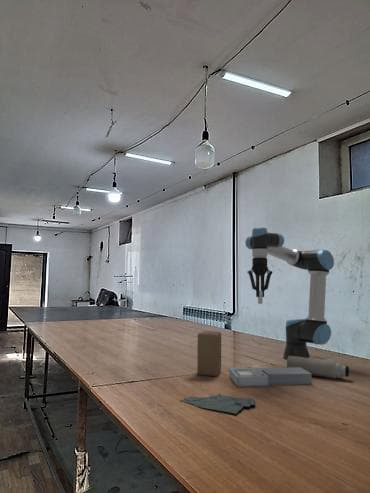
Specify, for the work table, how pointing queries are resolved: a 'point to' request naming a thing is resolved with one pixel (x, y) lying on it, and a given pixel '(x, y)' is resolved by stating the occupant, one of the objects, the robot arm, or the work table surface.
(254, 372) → the tile
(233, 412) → the decorative slab
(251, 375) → the tile
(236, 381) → the tray
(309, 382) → the board
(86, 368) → the work table surface
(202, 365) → the wooden block
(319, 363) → the thermos bottle
